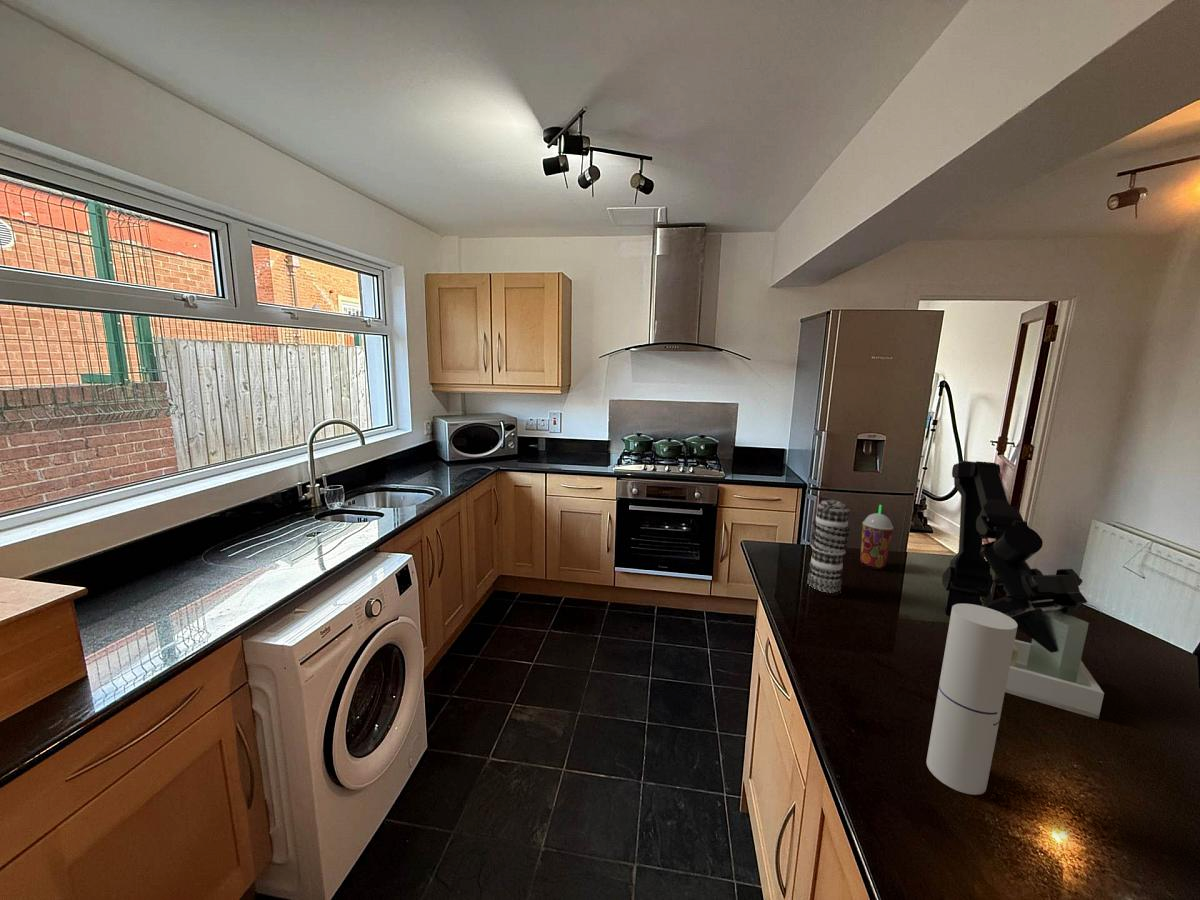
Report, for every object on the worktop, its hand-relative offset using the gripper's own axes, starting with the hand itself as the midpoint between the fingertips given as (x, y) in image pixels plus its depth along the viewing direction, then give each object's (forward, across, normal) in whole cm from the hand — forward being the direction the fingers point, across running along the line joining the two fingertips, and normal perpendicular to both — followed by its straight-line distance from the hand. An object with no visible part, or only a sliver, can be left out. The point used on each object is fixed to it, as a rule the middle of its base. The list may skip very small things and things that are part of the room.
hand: (1065, 650), depth 87 cm
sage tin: (+4, 0, +6) cm, 7 cm away
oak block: (0, -3, +12) cm, 13 cm away
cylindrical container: (+14, -37, -1) cm, 39 cm away
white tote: (+3, -2, +10) cm, 10 cm away
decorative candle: (-26, -14, +40) cm, 49 cm away
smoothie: (-35, +14, +48) cm, 61 cm away
